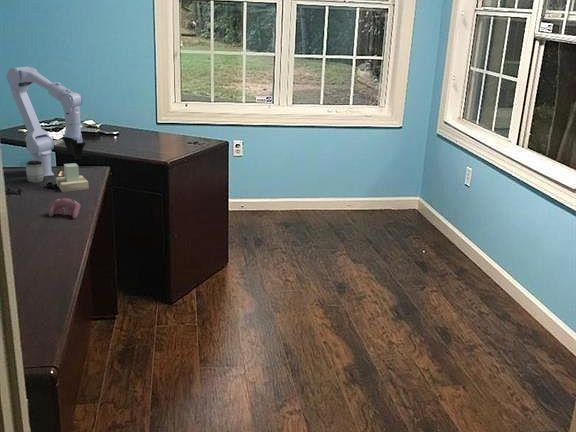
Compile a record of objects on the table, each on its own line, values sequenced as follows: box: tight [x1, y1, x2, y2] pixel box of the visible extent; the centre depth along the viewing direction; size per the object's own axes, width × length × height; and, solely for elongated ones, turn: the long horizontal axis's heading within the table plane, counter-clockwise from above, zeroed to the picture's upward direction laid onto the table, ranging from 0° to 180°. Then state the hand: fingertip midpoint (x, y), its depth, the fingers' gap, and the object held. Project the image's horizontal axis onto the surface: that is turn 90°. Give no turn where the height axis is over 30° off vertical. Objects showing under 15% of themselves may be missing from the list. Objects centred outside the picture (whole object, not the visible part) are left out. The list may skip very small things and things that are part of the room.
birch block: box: [55, 174, 90, 193], centre depth 239 cm, size 10×10×3 cm
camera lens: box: [25, 160, 45, 184], centre depth 243 cm, size 6×6×8 cm
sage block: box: [63, 162, 80, 182], centre depth 238 cm, size 4×4×6 cm
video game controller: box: [48, 197, 82, 219], centre depth 210 cm, size 10×5×7 cm, turn 85°
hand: (74, 156), depth 243 cm, fingers open, 7 cm apart
